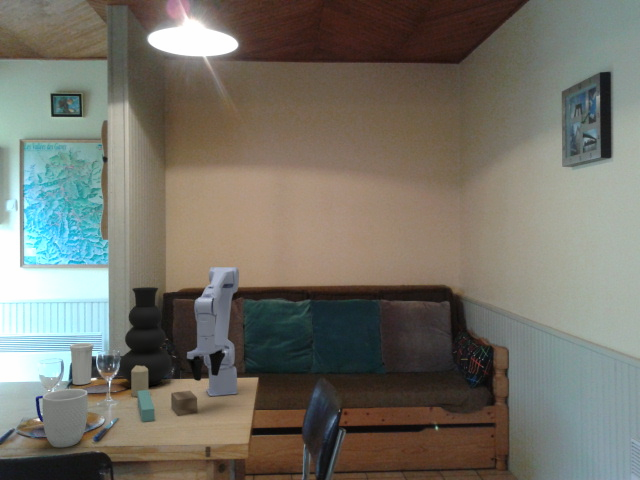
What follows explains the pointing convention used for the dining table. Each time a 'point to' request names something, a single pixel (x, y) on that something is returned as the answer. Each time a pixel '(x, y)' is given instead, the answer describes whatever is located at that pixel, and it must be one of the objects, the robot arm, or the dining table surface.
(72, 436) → the mug
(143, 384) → the candle
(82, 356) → the cup
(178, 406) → the block
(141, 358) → the vase
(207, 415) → the dining table surface
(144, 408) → the teal rectangular bar
